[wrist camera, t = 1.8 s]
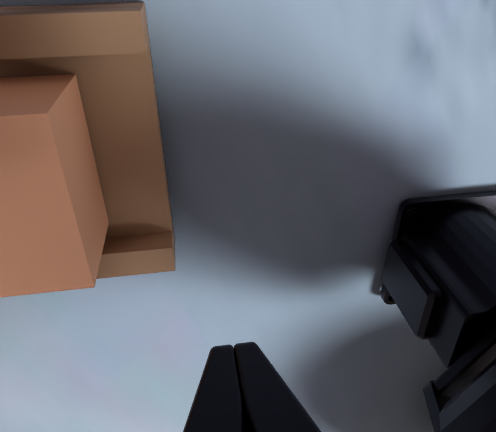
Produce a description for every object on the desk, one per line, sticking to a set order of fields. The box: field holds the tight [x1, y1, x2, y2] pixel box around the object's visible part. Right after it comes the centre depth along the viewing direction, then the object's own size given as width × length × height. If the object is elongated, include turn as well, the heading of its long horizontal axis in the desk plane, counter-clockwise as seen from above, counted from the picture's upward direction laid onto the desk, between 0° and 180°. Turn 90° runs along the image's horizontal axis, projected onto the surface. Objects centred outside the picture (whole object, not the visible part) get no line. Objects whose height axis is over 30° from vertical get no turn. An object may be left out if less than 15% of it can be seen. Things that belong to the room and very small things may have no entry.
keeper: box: [0, 74, 109, 297], centre depth 14 cm, size 5×6×4 cm
